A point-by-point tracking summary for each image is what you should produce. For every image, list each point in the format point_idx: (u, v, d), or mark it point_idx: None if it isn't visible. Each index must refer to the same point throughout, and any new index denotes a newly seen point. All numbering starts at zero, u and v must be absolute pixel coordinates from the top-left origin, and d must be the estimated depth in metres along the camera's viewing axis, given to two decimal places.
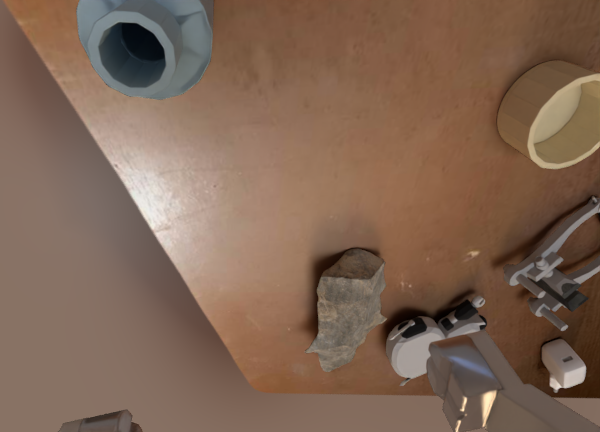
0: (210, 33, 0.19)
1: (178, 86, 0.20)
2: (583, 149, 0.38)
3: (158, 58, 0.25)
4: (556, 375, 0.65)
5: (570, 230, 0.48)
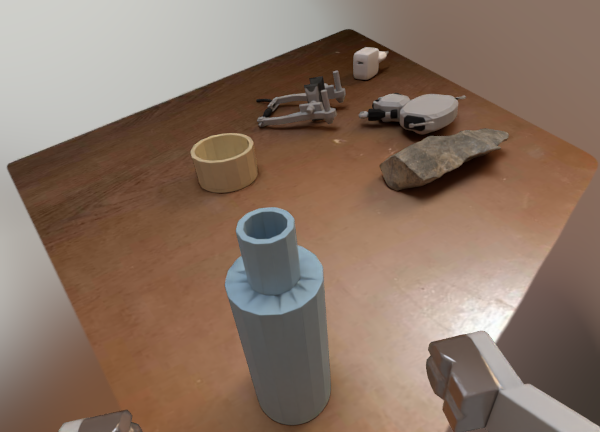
0: None
1: (297, 249, 0.26)
2: (233, 138, 0.60)
3: None
4: (374, 58, 0.87)
5: (283, 117, 0.70)
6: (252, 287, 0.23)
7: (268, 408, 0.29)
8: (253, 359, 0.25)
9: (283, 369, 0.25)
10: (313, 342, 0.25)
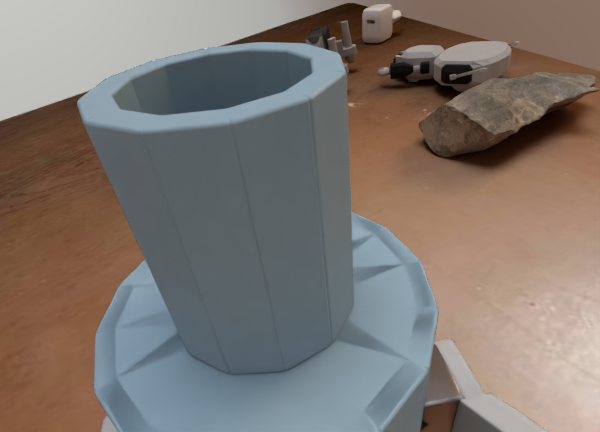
0: None
1: None
2: None
3: None
4: (388, 15, 0.71)
5: None
6: (184, 343, 0.06)
7: None
8: None
9: None
10: None
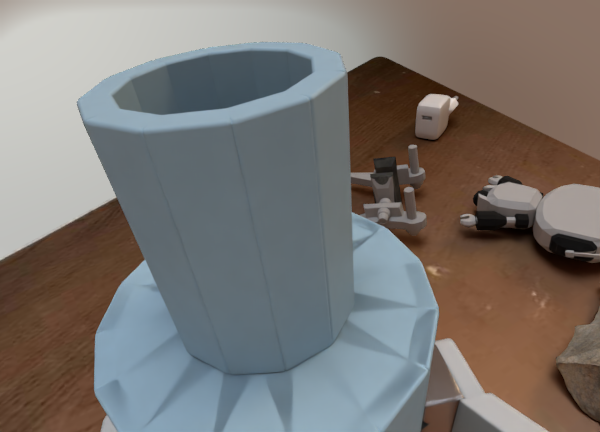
0: None
1: None
2: None
3: None
4: (446, 109, 0.62)
5: None
6: (184, 344, 0.06)
7: None
8: None
9: None
10: None
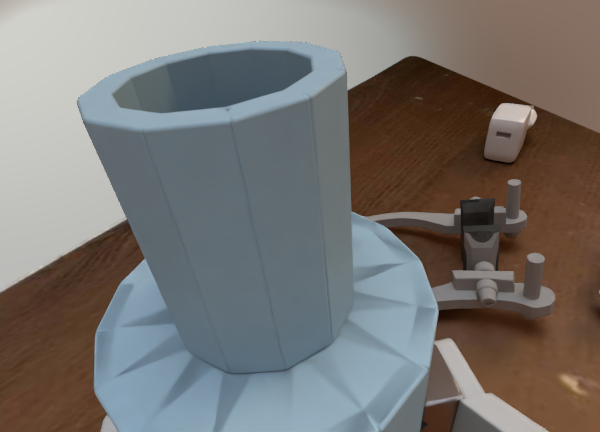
0: None
1: None
2: None
3: None
4: (527, 124, 0.48)
5: None
6: (184, 343, 0.06)
7: None
8: None
9: None
10: None
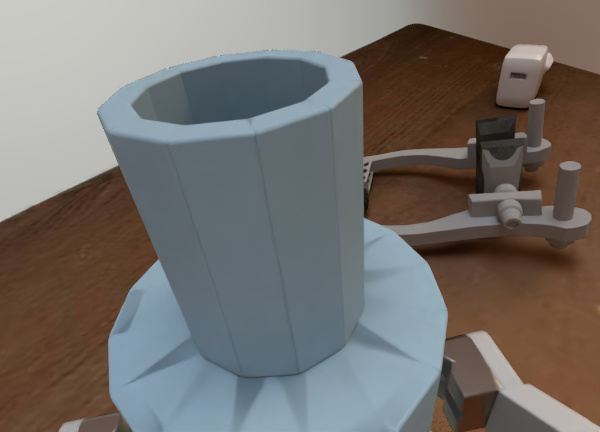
0: None
1: None
2: None
3: None
4: (543, 65, 0.44)
5: (422, 227, 0.26)
6: (198, 347, 0.06)
7: None
8: None
9: None
10: None
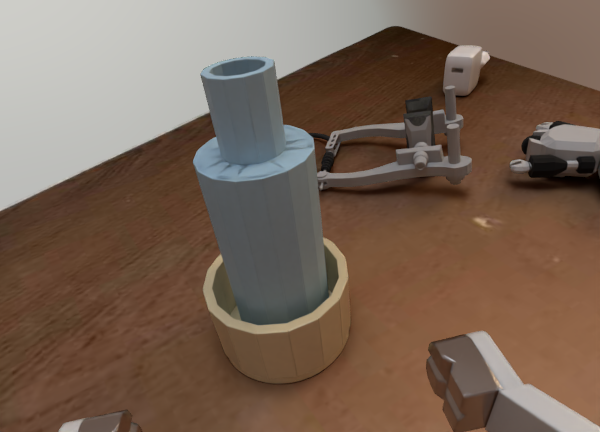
0: None
1: None
2: None
3: None
4: (478, 61, 0.56)
5: (365, 173, 0.38)
6: (226, 158, 0.19)
7: None
8: (233, 260, 0.21)
9: (270, 269, 0.20)
10: (306, 233, 0.20)
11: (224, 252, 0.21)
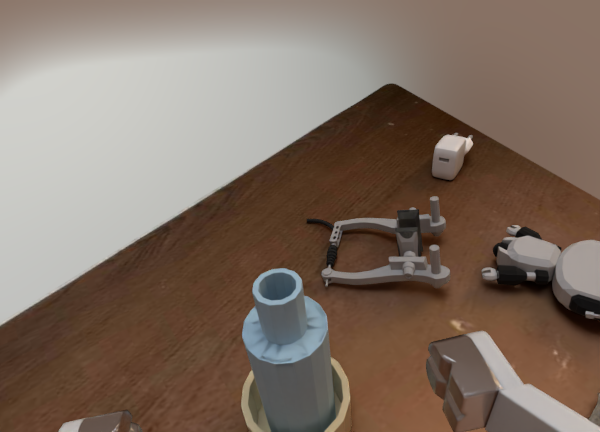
0: None
1: (304, 300, 0.29)
2: None
3: None
4: (462, 151, 0.64)
5: (363, 274, 0.47)
6: (266, 338, 0.27)
7: None
8: (268, 398, 0.29)
9: (295, 407, 0.28)
10: (320, 382, 0.28)
11: (261, 391, 0.29)
